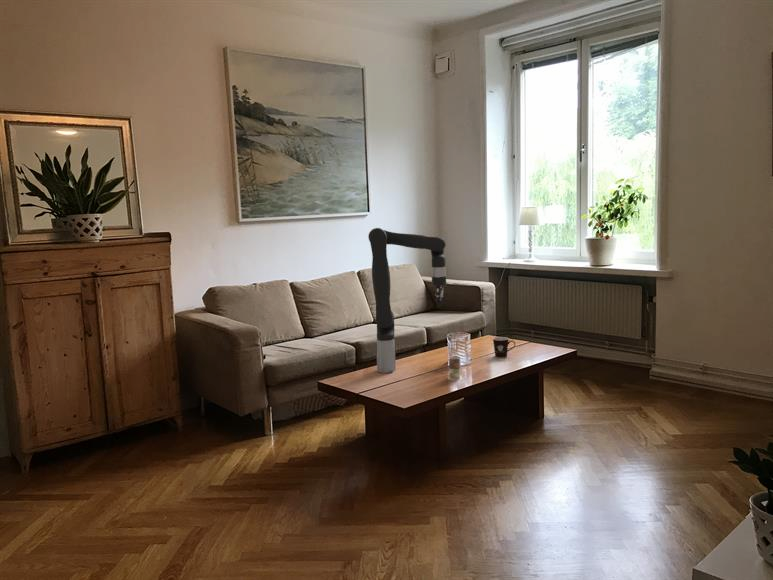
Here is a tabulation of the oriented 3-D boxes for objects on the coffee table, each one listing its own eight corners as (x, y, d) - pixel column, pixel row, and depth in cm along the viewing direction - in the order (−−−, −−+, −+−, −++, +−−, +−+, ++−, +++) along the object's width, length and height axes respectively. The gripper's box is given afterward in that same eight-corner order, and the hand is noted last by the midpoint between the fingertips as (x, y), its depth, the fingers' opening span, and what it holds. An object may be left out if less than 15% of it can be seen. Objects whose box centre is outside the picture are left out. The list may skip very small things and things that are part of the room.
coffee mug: (490, 356, 353) (490, 339, 352) (498, 353, 360) (498, 336, 358) (508, 359, 346) (508, 341, 344) (516, 356, 352) (516, 338, 351)
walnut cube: (449, 369, 309) (448, 359, 309) (450, 366, 314) (449, 356, 313) (459, 369, 308) (459, 359, 308) (460, 366, 313) (459, 356, 312)
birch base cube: (449, 378, 310) (449, 369, 309) (450, 376, 315) (450, 366, 314) (459, 379, 309) (459, 369, 308) (460, 376, 314) (460, 366, 313)
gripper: (433, 273, 335) (434, 304, 338) (429, 277, 321) (430, 308, 324) (447, 273, 334) (448, 303, 336) (444, 277, 320) (445, 308, 322)
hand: (439, 306), depth 330 cm, fingers open, 8 cm apart
